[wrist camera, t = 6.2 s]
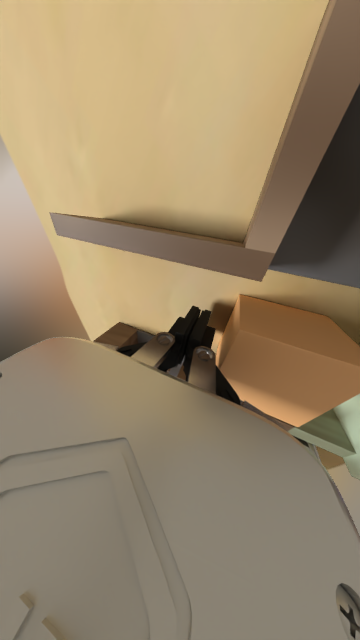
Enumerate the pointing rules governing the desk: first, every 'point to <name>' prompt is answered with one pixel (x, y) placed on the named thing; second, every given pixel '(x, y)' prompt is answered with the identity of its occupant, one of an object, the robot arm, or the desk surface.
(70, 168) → the desk surface
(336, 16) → the box
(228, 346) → the block
